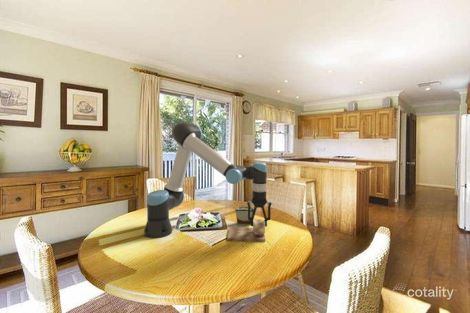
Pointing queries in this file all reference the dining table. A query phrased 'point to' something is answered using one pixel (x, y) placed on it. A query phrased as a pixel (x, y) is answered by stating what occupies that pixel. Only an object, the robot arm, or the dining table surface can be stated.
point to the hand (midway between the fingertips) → (258, 231)
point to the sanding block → (259, 227)
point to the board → (243, 235)
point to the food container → (243, 215)
